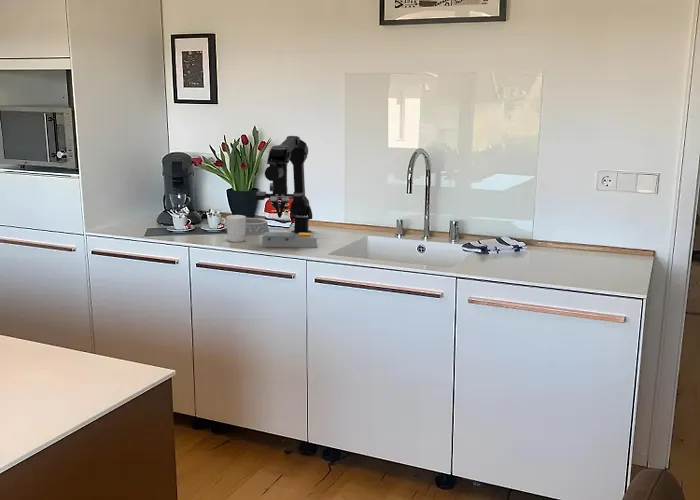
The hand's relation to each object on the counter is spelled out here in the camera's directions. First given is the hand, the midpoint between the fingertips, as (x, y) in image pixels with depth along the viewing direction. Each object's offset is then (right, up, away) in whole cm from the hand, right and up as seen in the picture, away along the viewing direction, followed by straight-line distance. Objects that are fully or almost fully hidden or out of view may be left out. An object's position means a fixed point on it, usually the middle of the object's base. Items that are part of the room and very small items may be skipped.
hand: (279, 217), depth 287 cm
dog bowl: (-17, -5, +32) cm, 36 cm away
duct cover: (0, -7, +2) cm, 7 cm away
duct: (+4, -11, +4) cm, 12 cm away
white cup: (-19, -9, +12) cm, 24 cm away
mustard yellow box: (+9, -10, +13) cm, 18 cm away
